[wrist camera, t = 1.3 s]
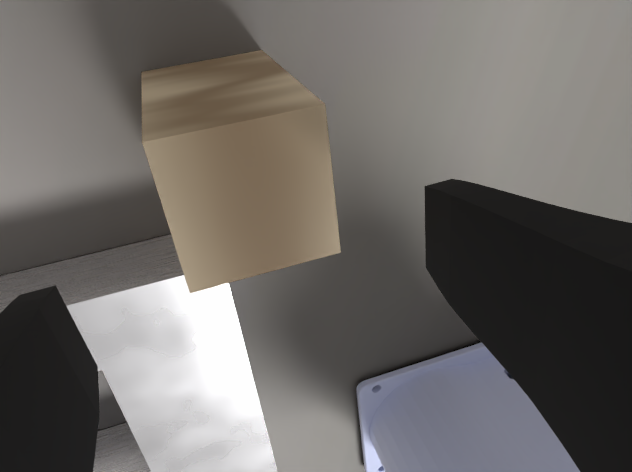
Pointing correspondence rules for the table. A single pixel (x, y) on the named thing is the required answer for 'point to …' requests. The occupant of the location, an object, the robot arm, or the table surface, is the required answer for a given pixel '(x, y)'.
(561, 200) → the table surface
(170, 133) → the tan tall block
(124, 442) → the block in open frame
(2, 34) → the table surface
